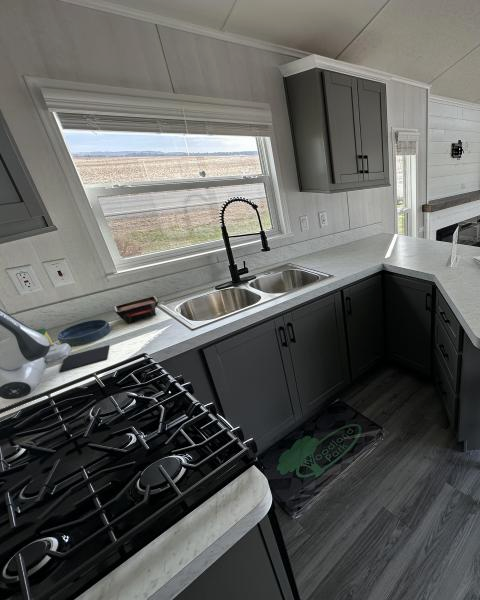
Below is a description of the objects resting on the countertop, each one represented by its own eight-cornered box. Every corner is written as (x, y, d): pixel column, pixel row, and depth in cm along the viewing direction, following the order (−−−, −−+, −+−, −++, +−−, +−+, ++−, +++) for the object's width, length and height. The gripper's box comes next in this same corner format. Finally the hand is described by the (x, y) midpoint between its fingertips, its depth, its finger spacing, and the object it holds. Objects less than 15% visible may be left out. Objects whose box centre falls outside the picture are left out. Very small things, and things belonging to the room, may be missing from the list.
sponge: (39, 365, 128) (23, 339, 123) (43, 357, 133) (28, 331, 128) (55, 361, 130) (40, 335, 125) (58, 353, 135) (44, 328, 130)
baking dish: (123, 318, 166) (112, 302, 161) (163, 304, 175) (153, 288, 169) (125, 331, 156) (112, 315, 151) (166, 315, 165) (156, 299, 159)
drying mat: (59, 372, 123) (59, 371, 123) (65, 357, 132) (65, 356, 132) (107, 359, 130) (106, 358, 130) (109, 346, 139) (109, 344, 139)
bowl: (74, 350, 137) (69, 342, 135) (53, 342, 144) (48, 334, 142) (119, 330, 151) (116, 323, 149) (98, 324, 158) (95, 316, 156)
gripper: (63, 349, 119) (70, 333, 129) (-20, 370, 109) (-5, 351, 119) (71, 363, 122) (77, 347, 132) (-9, 385, 111) (4, 365, 122)
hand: (37, 349), depth 126 cm, fingers open, 8 cm apart
